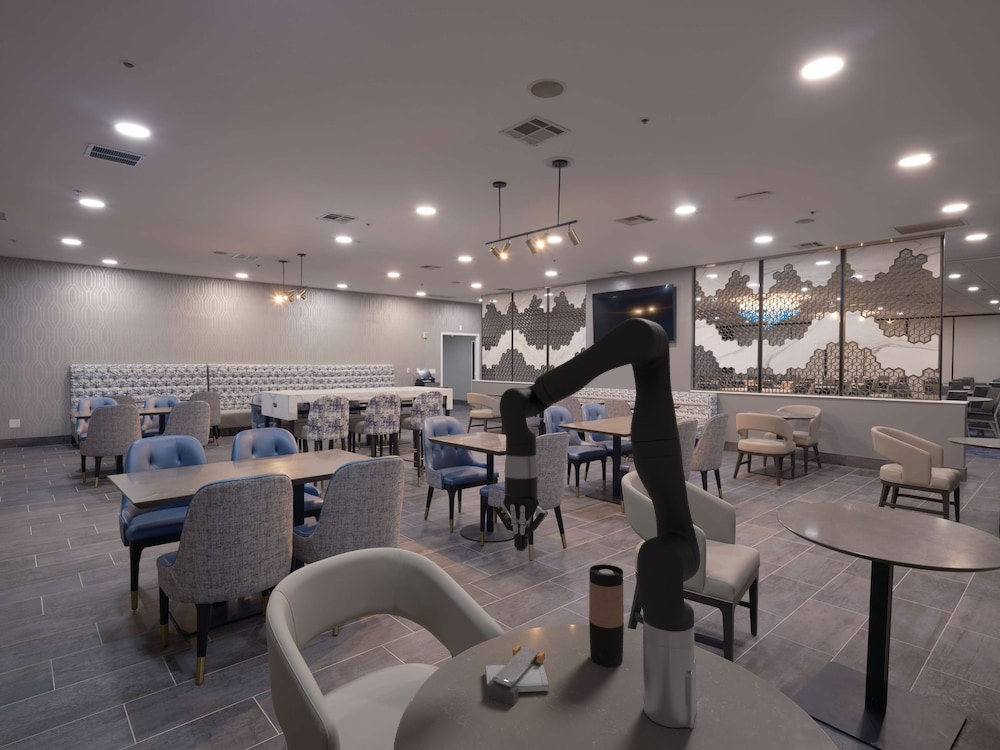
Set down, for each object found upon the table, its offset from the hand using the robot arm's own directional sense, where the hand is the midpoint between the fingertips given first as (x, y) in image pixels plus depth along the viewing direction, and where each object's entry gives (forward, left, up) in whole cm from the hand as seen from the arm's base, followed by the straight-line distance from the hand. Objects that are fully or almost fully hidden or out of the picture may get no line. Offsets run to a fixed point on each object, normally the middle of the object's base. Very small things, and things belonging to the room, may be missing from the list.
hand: (521, 549), depth 122 cm
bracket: (-4, +11, -24) cm, 27 cm away
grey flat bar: (-4, +10, -22) cm, 25 cm away
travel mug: (-18, -7, -24) cm, 31 cm away
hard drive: (-4, +11, -24) cm, 27 cm away
